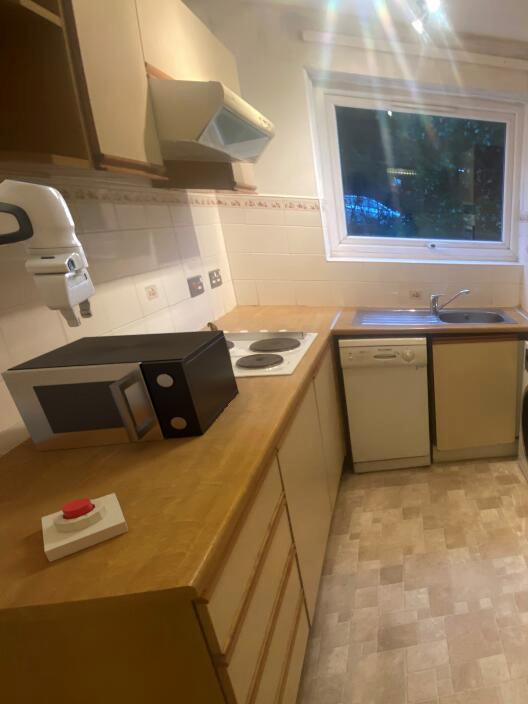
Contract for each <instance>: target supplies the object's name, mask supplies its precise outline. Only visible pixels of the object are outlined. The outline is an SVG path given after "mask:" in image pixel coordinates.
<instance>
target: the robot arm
mask: <svg viewBox="0 0 528 704" xmlns="http://www.w3.org/2000/svg"><path fill="white" fill-rule="evenodd" d="M75 229H76V226H75V222H74V220H73V216H72V214H71V211H70V209H69V206H68V204H67V202H66V201H65V199H64V196H63V195H62V194H61V192H59V190H57V188H55V187H53V186H51V185H49V184H46V183H43V182H40V181H39V182H38V181H34V180H27V179H19V178H6V179H4V180H3V181H2V182H1V183H0V247H4V246H7V245H10V244H15V243H21V244H23V246H24V248H25V251H26V254H27V259H26V261H25V263H24V268H25V270H26V272H27V273H28V275H32V277H33V281H34V285H35V286H36V289H37V290H38V293H39V295H40V297H41V299H42V301H43V303H44V305H45V306H46V307H47V308H48V309H49V310H50V311H59V312H60V314H61V315H62V316H63V318H64V319H65V321H66V323H67V326H68V327H69V328H78V327H80V326H81V325H82V323H81V319H80V317H81V318H82V319H90V318H93V316H94V314H93V311H92V303H91V302H92V301H91V299H90V298H92V297H93V296H94V295H96V291H95V287H94V284H93V281H92V279H91V277H90V274H89V271H88V269H87V268H89V263H88V261H87V257H86V254H85V251H84V248H83V246H82V243H81V242H80V240H79V239H78V237H77V235H76V232H75V231H76V230H75ZM76 306H78V307H79V314H80V317H78V315H77V313H76V309H75V307H76Z"/></svg>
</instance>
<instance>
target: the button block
mask: <svg viewBox="0 0 528 704" xmlns="http://www.w3.org/2000/svg"><path fill="white" fill-rule="evenodd" d="M89 500H90V501H91V503H92V506H93V510H92V511H91V512H89V513H87V514H86V515H83V516H81V517H78V518H74V519H66V518H65V516H64V513H63V511H62V509H61V510H59V511H56V512H54V513H51V514H48V515H45V516H42V517H41V518H40V519H41V528H42V538H43V549H44V554H45V556H46V558H47V559H48V561H49V563H51V562H54V561H56V560H59V559H61V558H63V557H67V556H69V555H71V554H74V553H76V552H79V551H82V550H84V549H87V548H89V547H92V546H95V545H97V544H99V543H102V542H104V541H107V540H109V539H113V538H115V537H117V536H120V535H122V534H125V533H127V532H129V528H128V524H127V522H126V518H125V516H124V513H123V510H122V508H121V505H120V502H119V500H118V497H117V495H116V493H115V492H112V493H109V494H107V495H104V496H101V497H98V498H95V499H89Z"/></svg>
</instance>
